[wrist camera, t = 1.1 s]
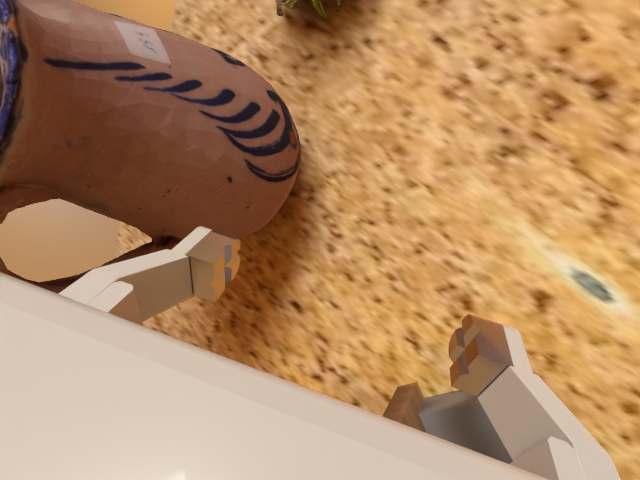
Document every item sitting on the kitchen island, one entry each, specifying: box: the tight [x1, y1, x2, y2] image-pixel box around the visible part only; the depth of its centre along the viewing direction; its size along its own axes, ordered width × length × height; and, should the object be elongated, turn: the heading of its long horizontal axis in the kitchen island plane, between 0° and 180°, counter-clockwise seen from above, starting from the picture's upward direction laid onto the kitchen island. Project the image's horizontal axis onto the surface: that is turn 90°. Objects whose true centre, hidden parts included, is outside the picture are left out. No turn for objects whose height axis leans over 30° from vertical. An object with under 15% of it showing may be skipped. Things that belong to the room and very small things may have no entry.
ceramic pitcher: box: [0, 0, 301, 294], centre depth 26 cm, size 18×21×25 cm
